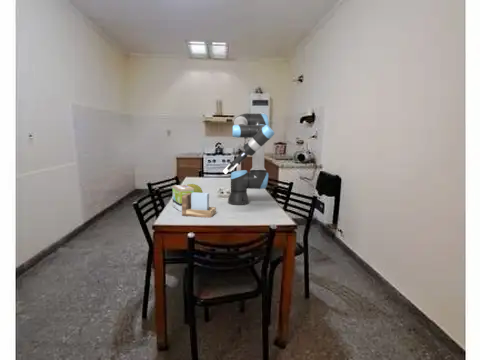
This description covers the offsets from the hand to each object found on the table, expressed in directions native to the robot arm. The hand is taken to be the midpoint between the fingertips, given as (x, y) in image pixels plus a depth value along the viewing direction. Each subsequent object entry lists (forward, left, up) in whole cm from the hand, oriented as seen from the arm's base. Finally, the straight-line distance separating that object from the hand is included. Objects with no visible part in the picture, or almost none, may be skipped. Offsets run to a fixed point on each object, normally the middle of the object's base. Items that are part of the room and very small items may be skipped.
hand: (226, 171), depth 203 cm
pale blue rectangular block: (+3, -16, -26) cm, 31 cm away
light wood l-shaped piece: (+3, -16, -27) cm, 32 cm away
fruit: (-26, -32, -27) cm, 49 cm away
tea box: (-9, -32, -27) cm, 43 cm away
